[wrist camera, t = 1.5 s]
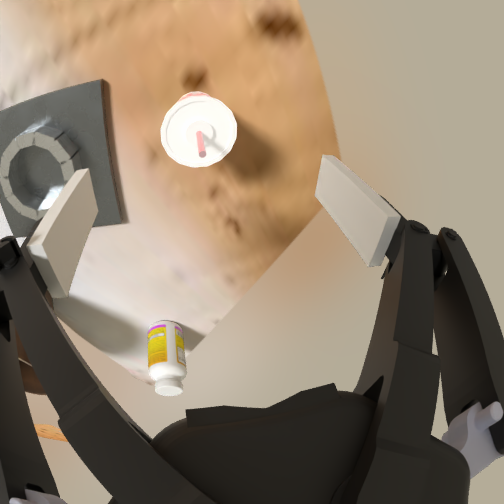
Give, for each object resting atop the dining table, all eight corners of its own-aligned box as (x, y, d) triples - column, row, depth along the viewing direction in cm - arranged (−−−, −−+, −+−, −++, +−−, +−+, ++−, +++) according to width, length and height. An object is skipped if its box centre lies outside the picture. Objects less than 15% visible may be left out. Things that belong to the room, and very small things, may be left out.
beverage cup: (187, 74, 24) (187, 89, 14) (234, 102, 27) (269, 139, 17) (156, 122, 27) (137, 173, 16) (203, 146, 30) (216, 210, 19)
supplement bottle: (143, 334, 50) (144, 395, 40) (154, 315, 47) (155, 381, 37) (175, 341, 53) (180, 399, 43) (188, 323, 50) (195, 386, 40)
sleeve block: (-17, 119, 18) (-32, 128, 15) (102, 78, 22) (93, 82, 19) (17, 233, 29) (8, 249, 27) (122, 218, 33) (118, 235, 31)
